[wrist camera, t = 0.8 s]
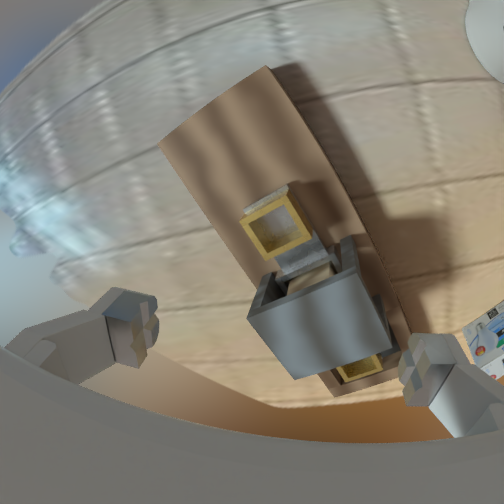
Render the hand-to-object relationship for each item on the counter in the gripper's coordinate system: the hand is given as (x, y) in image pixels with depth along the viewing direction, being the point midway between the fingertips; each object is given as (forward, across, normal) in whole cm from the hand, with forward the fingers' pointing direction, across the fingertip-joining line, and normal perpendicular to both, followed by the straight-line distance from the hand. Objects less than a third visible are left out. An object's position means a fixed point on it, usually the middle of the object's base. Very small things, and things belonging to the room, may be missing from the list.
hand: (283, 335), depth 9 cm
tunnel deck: (+36, -5, +13) cm, 38 cm away
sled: (+32, -6, +16) cm, 36 cm away
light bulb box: (+34, -41, +20) cm, 57 cm away
